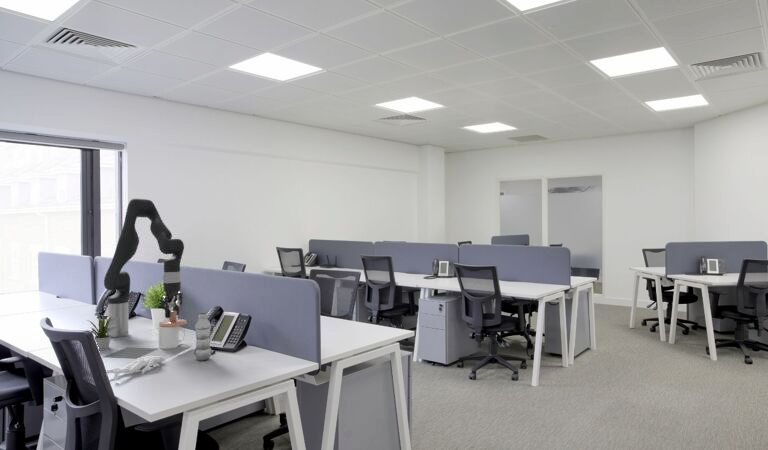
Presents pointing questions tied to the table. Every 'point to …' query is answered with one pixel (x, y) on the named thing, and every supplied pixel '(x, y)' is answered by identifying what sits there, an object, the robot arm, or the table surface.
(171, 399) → the table surface
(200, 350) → the plastic bottle
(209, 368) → the table surface
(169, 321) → the lid
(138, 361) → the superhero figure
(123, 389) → the table surface
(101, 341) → the house plant
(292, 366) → the table surface
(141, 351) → the mat
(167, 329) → the mug
